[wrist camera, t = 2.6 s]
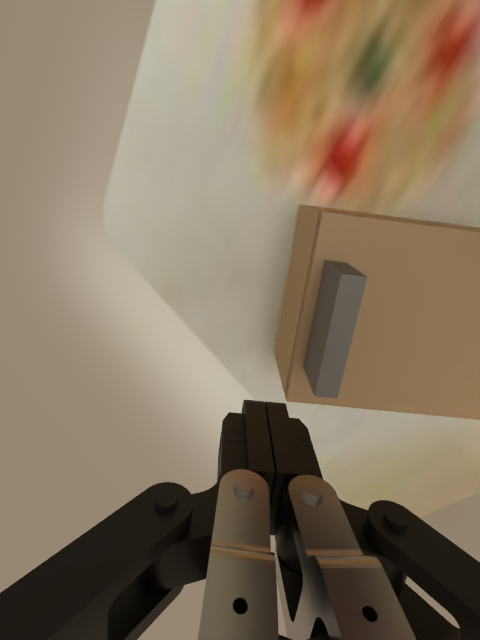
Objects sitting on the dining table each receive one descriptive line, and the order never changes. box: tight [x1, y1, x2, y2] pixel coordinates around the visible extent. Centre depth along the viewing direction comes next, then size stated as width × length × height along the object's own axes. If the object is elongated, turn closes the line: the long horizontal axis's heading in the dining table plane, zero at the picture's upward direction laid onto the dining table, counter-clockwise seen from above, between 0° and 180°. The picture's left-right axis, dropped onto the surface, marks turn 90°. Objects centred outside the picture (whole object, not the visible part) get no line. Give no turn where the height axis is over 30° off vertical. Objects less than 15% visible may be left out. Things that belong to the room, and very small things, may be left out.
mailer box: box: [274, 205, 480, 393], centre depth 31 cm, size 20×14×8 cm
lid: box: [285, 211, 480, 420], centre depth 25 cm, size 20×14×5 cm
